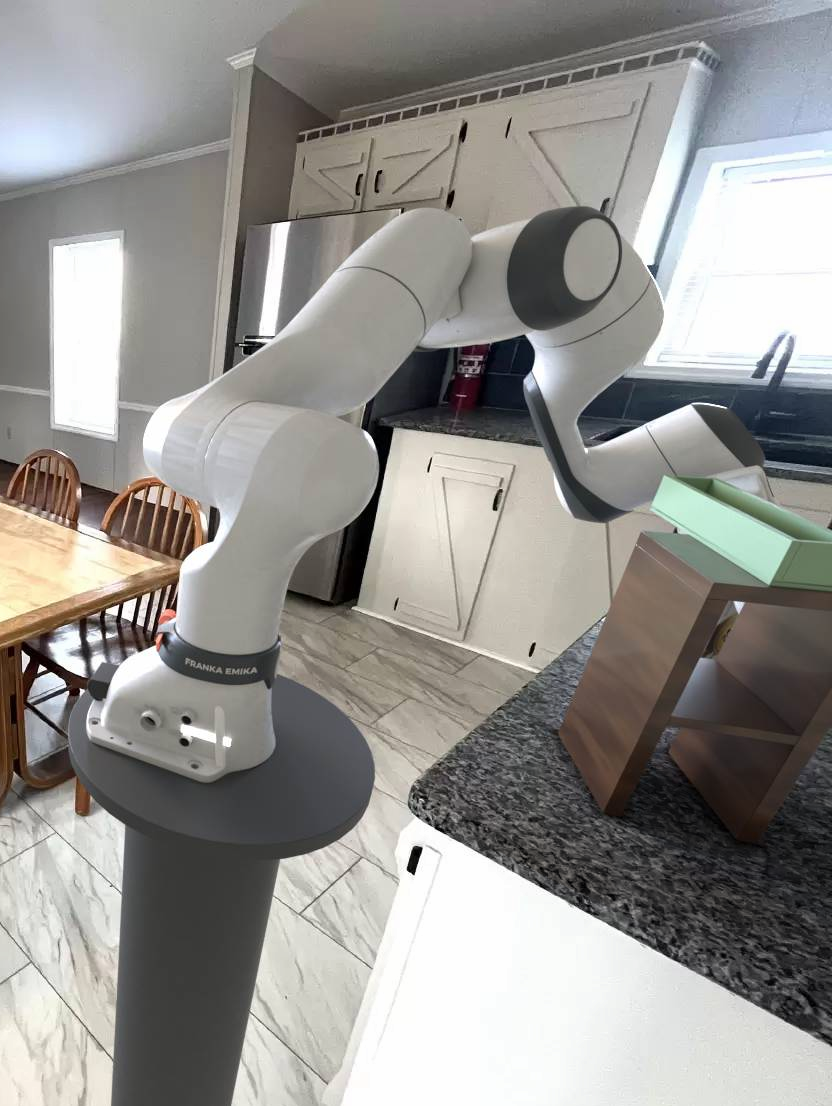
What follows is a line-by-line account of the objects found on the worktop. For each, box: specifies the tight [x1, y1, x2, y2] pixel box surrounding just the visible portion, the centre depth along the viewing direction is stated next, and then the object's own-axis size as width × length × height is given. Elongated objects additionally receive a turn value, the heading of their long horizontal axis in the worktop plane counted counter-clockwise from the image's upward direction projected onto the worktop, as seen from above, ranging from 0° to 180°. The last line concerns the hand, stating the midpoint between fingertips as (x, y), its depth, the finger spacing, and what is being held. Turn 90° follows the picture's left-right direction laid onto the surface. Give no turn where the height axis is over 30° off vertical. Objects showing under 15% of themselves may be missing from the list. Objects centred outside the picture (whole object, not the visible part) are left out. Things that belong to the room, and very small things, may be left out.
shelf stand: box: [557, 530, 832, 844], centre depth 63 cm, size 12×14×26 cm
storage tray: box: [649, 475, 832, 592], centre depth 60 cm, size 4×22×4 cm, turn 159°
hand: (774, 601), depth 66 cm, fingers open, 8 cm apart
